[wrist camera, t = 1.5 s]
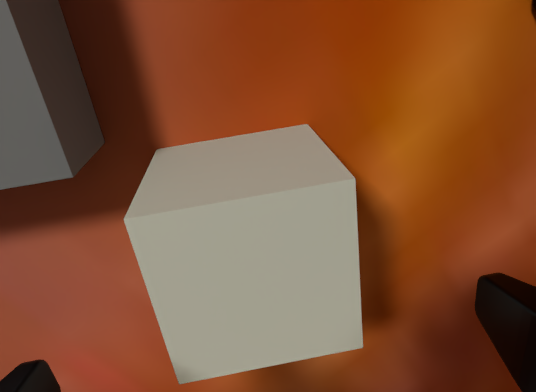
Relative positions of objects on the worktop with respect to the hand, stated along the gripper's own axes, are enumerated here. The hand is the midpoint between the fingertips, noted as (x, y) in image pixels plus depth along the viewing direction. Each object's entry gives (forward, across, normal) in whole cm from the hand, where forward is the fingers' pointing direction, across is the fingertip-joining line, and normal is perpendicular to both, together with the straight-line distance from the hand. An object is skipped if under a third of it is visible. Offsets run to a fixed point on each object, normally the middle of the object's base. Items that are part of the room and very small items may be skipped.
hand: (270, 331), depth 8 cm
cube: (+6, 0, 0) cm, 6 cm away
